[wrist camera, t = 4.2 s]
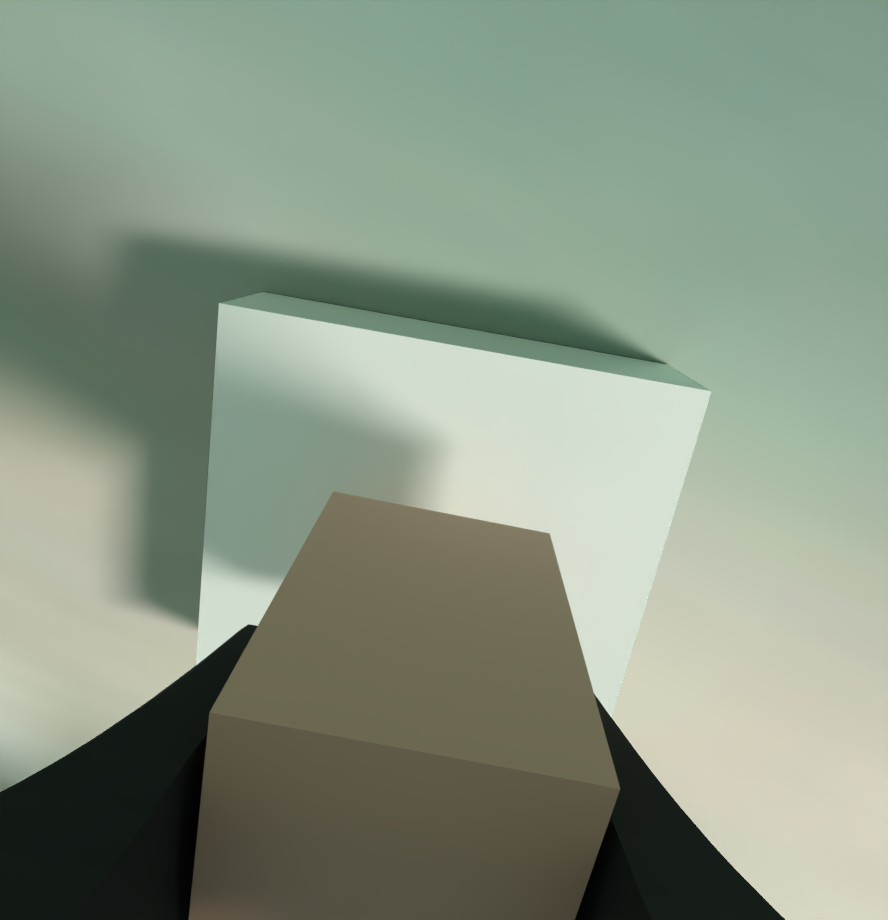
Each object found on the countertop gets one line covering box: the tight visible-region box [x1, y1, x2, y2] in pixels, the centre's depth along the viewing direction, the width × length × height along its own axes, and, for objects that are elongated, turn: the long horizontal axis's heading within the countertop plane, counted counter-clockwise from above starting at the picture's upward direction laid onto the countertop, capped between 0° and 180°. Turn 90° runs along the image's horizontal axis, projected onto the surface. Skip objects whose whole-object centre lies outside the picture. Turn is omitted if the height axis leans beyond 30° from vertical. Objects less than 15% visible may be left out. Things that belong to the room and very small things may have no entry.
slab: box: [196, 292, 712, 717], centre depth 16 cm, size 10×10×3 cm
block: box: [189, 491, 620, 920], centre depth 10 cm, size 4×4×6 cm
